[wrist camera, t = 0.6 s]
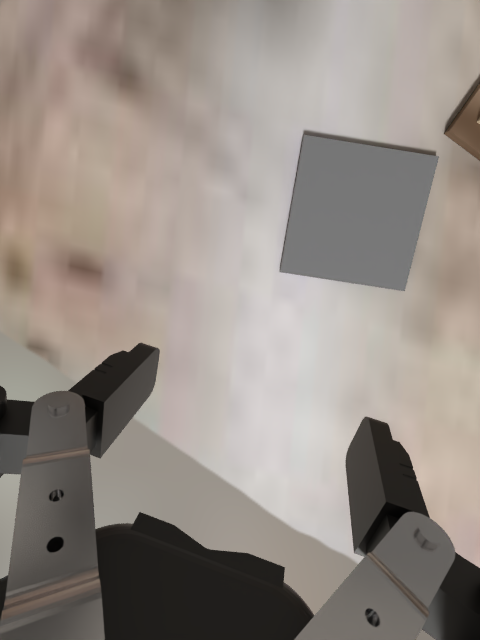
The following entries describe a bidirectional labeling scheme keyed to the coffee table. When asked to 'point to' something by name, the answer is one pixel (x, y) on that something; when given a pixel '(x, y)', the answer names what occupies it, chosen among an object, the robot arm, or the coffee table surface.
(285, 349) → the coffee table surface
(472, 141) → the rack
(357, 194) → the mat
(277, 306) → the coffee table surface
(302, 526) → the coffee table surface
